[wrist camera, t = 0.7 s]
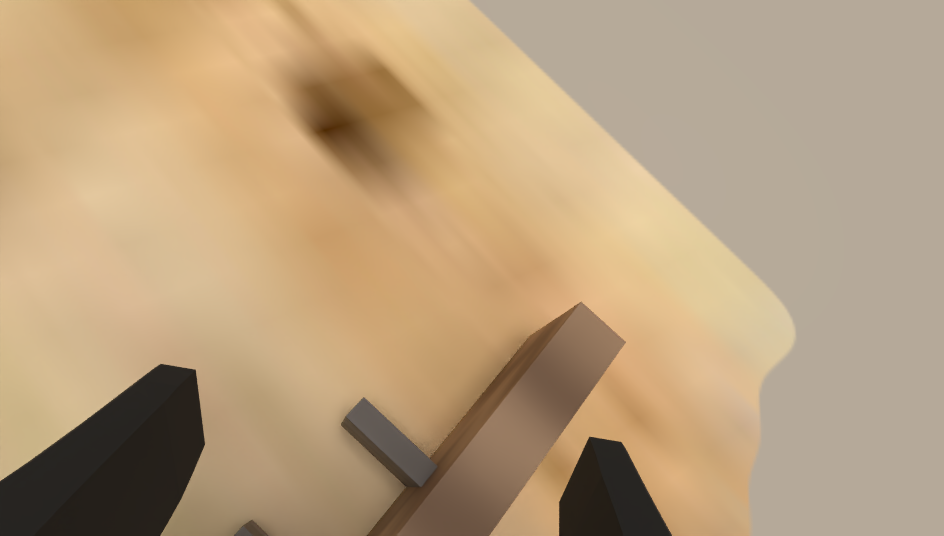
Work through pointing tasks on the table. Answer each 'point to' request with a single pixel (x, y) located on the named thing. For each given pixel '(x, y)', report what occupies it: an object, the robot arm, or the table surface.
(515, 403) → the brown wooden bar
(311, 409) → the table surface
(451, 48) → the table surface
